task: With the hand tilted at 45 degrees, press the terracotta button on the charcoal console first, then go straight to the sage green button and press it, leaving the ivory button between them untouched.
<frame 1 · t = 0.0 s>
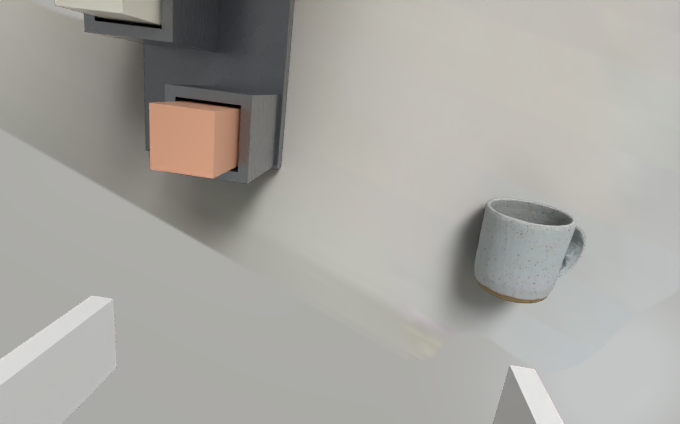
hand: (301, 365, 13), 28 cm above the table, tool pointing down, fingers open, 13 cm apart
terracotta button: (208, 134, 31), point 9 cm above the table, slide at 0.0 cm
console: (221, 15, 37), on the table
ceramic mug: (521, 234, 40), on the table
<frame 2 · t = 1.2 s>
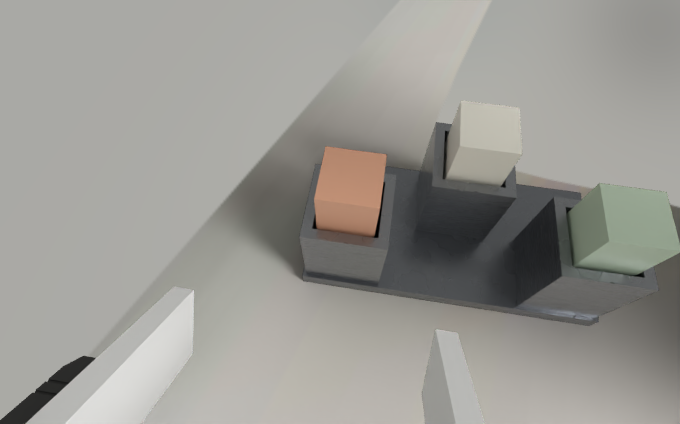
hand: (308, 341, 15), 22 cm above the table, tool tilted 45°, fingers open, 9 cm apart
terracotta button: (349, 206, 32), point 9 cm above the table, slide at 0.0 cm
ivory button: (473, 159, 34), point 9 cm above the table, slide at 0.0 cm
console: (445, 238, 41), on the table
sage button: (601, 242, 30), point 9 cm above the table, slide at 0.0 cm
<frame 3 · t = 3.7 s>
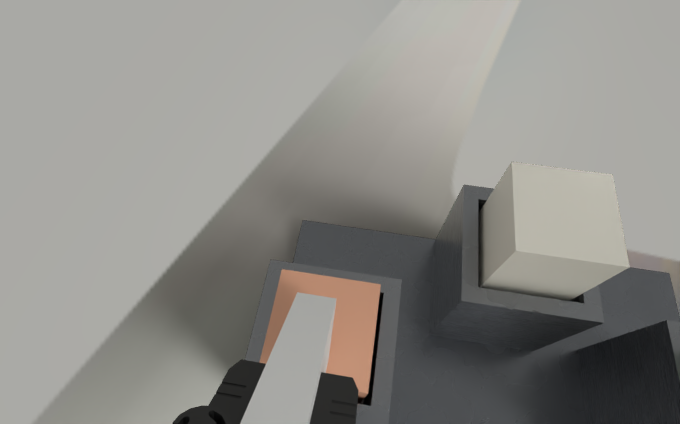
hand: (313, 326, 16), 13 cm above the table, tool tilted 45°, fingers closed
terracotta button: (325, 345, 21), point 7 cm above the table, slide at 1.9 cm, touching gripper
ivory button: (526, 249, 21), point 9 cm above the table, slide at 0.0 cm
console: (473, 342, 28), on the table
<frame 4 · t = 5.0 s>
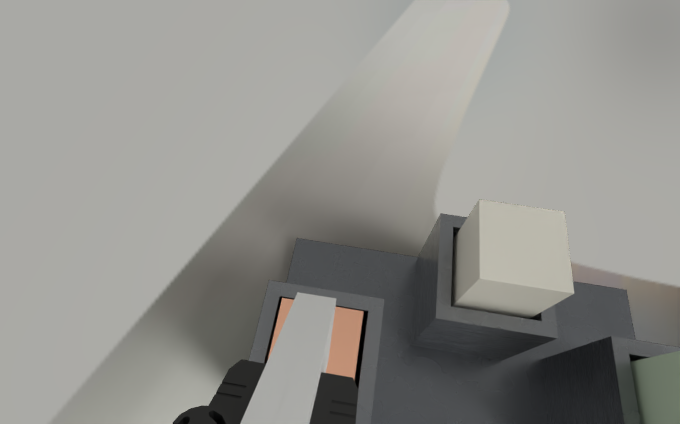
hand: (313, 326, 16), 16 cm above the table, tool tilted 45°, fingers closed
terracotta button: (317, 359, 24), point 6 cm above the table, slide at 3.2 cm
ivory button: (493, 272, 24), point 9 cm above the table, slide at 0.0 cm
console: (450, 351, 31), on the table
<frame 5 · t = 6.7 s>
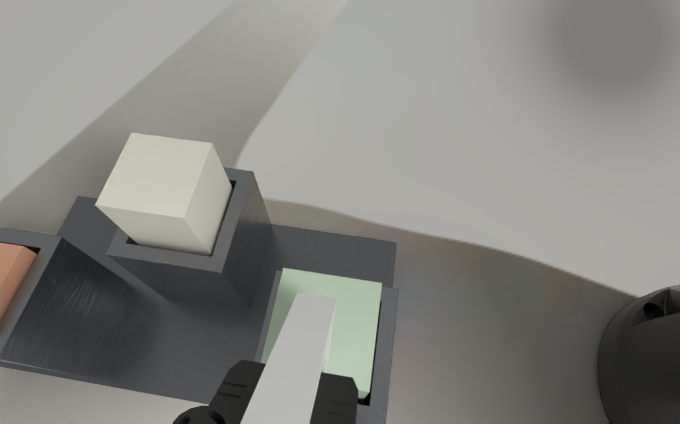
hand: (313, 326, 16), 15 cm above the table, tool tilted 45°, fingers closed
terracotta button: (18, 301, 25), point 6 cm above the table, slide at 3.2 cm
ivory button: (184, 212, 24), point 9 cm above the table, slide at 0.0 cm
console: (212, 304, 31), on the table
sage button: (326, 344, 21), point 9 cm above the table, slide at 0.2 cm, touching gripper
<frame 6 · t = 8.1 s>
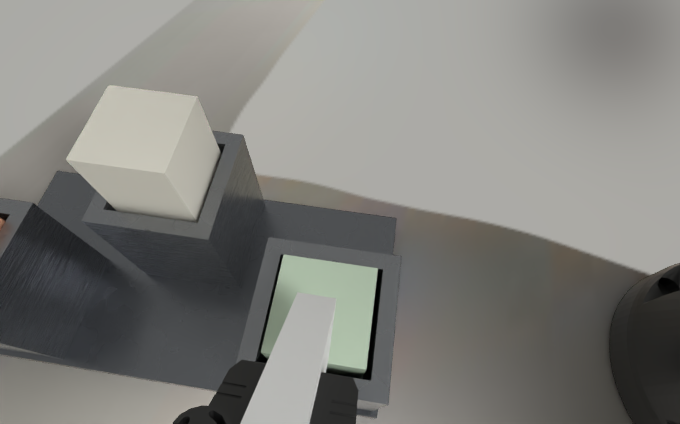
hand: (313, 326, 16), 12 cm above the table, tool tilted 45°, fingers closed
ivory button: (168, 177, 22), point 9 cm above the table, slide at 0.0 cm
console: (201, 284, 29), on the table
sage button: (324, 329, 21), point 6 cm above the table, slide at 3.2 cm
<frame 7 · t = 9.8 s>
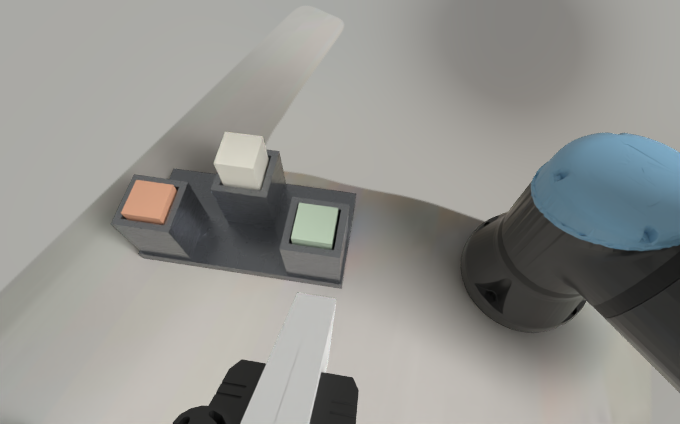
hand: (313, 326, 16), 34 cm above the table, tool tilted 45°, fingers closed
terracotta button: (161, 216, 49), point 6 cm above the table, slide at 3.2 cm
ivory button: (246, 171, 49), point 9 cm above the table, slide at 0.0 cm
console: (253, 227, 55), on the table
sage button: (316, 238, 48), point 6 cm above the table, slide at 3.2 cm
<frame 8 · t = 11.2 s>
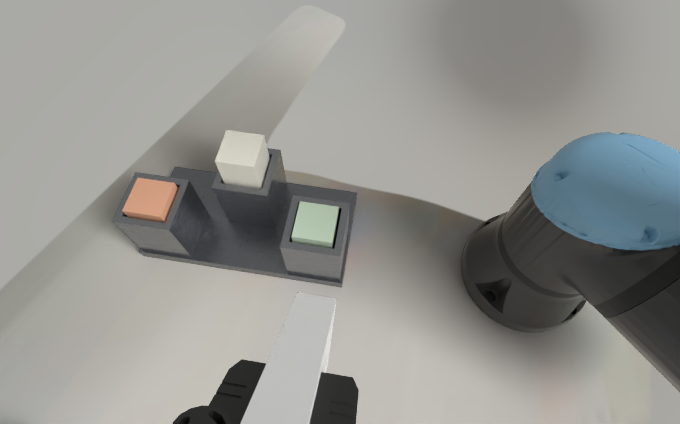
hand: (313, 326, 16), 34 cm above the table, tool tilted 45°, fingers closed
terracotta button: (162, 214, 49), point 6 cm above the table, slide at 3.2 cm
ivory button: (247, 169, 49), point 9 cm above the table, slide at 0.0 cm
console: (254, 225, 55), on the table
sage button: (317, 237, 48), point 6 cm above the table, slide at 3.2 cm
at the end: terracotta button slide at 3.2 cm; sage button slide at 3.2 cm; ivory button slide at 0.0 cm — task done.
